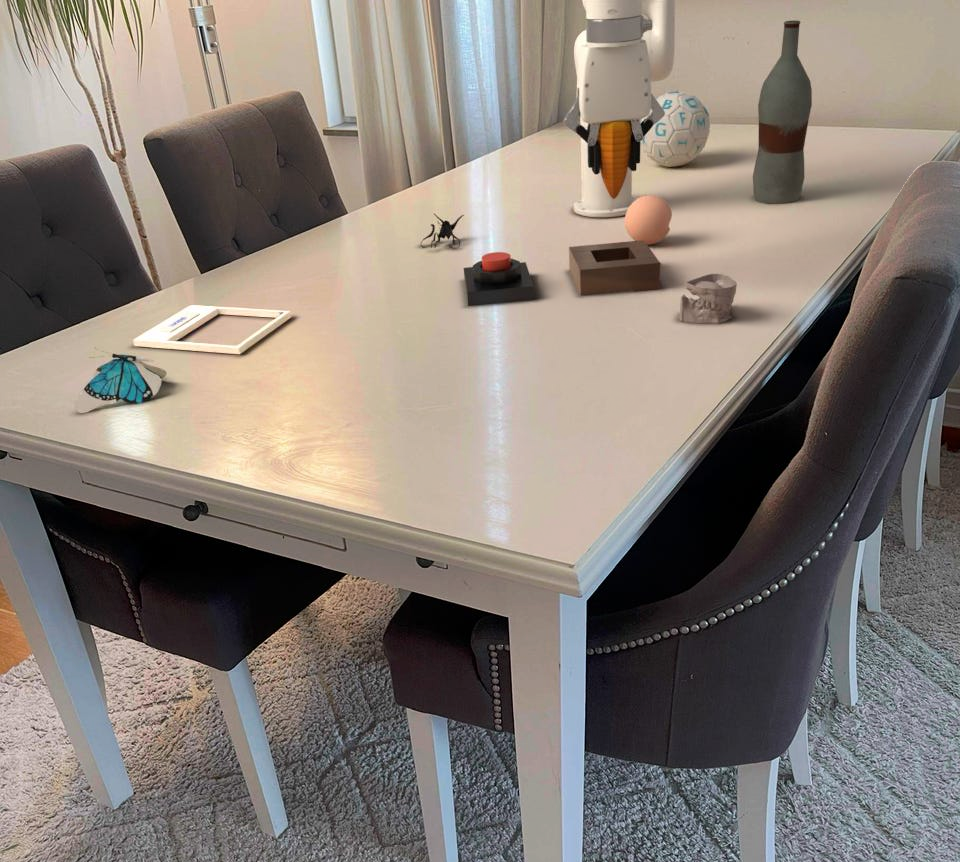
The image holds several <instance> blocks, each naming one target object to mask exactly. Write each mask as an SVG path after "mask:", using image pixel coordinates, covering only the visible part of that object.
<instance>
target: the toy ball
mask: <svg viewBox="0 0 960 862" xmlns="http://www.w3.org/2000/svg"><path fill="white" fill-rule="evenodd" d="M636 199H637V200H635V201H634V202H633V203H632V204H631V205H630V207H629V208H628V210H627V212H626V215H624V216H625V217H624V226H625V230H626V232H627V234H628V236H629V237H630V238H631V239H632V240H633V241H640V240H644V241H645V242H646V244H647V245H655V244H656V243H659V242H661V241H662V240H664V238H665V237H667V235H668V234H669V232H670V230H671V228H670V223H671V221H672V216H673V213H672V209H671V207H670V205H669V203H668V202H667V201H666V200H665V199H663V198H661V197H660V196H657V195H652V194H651V195H649V194H647V195H643V196H641V197H638V198H636Z"/></svg>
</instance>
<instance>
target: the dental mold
mask: <svg viewBox="0 0 960 862" xmlns="http://www.w3.org/2000/svg"><path fill="white" fill-rule="evenodd" d="M737 284H738V283H737V282H736V281H735V280H734V279H732V278H731V277H730V276H729V275H725V274H724V273H708V274H705V275H701V276H698V277H696V278H693V279H690V280H688V281H685V289H686V290H687V291H688V292H690V294H691V295H693V296H697V297H698V298H697V299H694V298H692V297H687V296H686V294H682V295H681V296H680V305H679V321H680V322H685V323H691V324H703V325H704V324H716V325H717V324H718V325H719V324H722V323H726V322H727V321H728V320H729V319H732V315H731V314H730V312H731V308H732V304H733V303H734V300H735V295H736V294H737Z"/></svg>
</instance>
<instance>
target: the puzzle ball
mask: <svg viewBox="0 0 960 862" xmlns="http://www.w3.org/2000/svg"><path fill="white" fill-rule="evenodd" d="M655 99H656V100H657V102H658V103H659V104H660V106H661V107H662V109H663V110H664V111H665V115H664V117H663V118H661V119H660V120H659V121H658V122H657V123H656V124H654V125H653V127H652V128H651V129H650V130H649V131H648V132H647V134H646V135H645V136H644V137H643V140H642V141H640V147H641V148H642V151H643V152H644V154H645V155H646V156H647V157H648V158H649V159H650V160H651V161H653V162H655V163H656V164H658V165H659V166H663V167H667V168H677V167H682V166H684V165H687V164H688V163H690V162H691V161H693V160H694V159H695V158H696V157H698V155H700V154H701V153H702V152H703V150H704V148H705V147H706V144H707V142H708V138H709V136H710V133H711V132H710V131H711V130H710V127H711V122H710V114H709V112H708V110H707V108H706V107H705V105H704V104H703V103H702V102H701V101H700V99H698V98H697V97H696V96H695V95H692V94H691V93H688V92H684V91H679V90H673V91H670V92H666V93H663V94H661V95H660V96H657V97H655ZM651 112H652V110H650V113H649V115H650V114H651ZM649 115H648V116H649ZM648 116H646V117H645V118H642V119H640V124H641V122H642V121H643V120H644V119H646V118H647V117H648Z"/></svg>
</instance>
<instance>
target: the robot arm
mask: <svg viewBox="0 0 960 862" xmlns="http://www.w3.org/2000/svg"><path fill="white" fill-rule="evenodd" d="M581 1H582V6H583V8H584V11H585V29H584V30H582V32H580V33H579V34H578V36H577V37H576V39H575V42H574V47H573V58H574V60H573V61H574V67H575V73H576V99H575V100H574V102H573V104H572V105H571V107H570V108H569V109H568V111H567V113H566V114H565V116H564V118H563V119H562V122H563V125H565V127H567V128H568V129H570V130H571V131H573V132H574V133H576V134H577V135H578V136H579V137H580V179H581V180H580V185H581V192H580V193H581V195H580V196H581V198H580V199H579V200H576V201H575V202H574V204H573V212H574V213H575V214H577V215H579V216H583V217H588V218H616V217H622V216H626V212H627V210H628V208H629V207H630V205H631V204H632V203H633V202H634V201H635V200H637V199H638V198H636V197H633V196H632V193H633V187H632V186H633V172H636V171H637V164H640V163H641V144H640V141H642V140H643V137H644V136H645V135H646V134H647V132H648V131H649V130H650V129H651V128H652V127H653V125H654V124H656V123H657V122H658V121H659V120H660V119H661V118H663V117H664V115H665V111H664V110H663V109H662V107H661V106H660V104H659V103H658V102H657V100H656V97H655V96H654V95H653V93H652V82H653V83H654V82H660V81H663V80H665V79H667V78H668V77H669V76H670V75H671V74H672V70H673V67H674V63H675V62H674V59H675V32H676V31H675V29H676V27H675V26H676V25H675V24H676V23H675V22H676V20H675V19H676V0H581ZM644 16H646V17H647V18H645V17H644ZM650 110H652V112H651V114H650V115H649V113H650ZM648 115H649V116H648ZM646 116H648V117H647V118H646V119H644V120H643V121H642V122H641V119H642V118H645V117H646ZM577 117H579V122H578V121H577ZM611 121H630V123H631V148H630V158H629V164H628V169H627V174H626V178H625V181H624V183H623V186H622V188H621V190H620V192H619V194H618V196H617V197H616V198H615V199H613V198H612V197H611V196H610V195H609V193H608V191H607V189H606V187H605V184H604V182H603V179H602V176H601V171H600V146H599V145H598V141H597V136H598V131H599V127H600V123H607V122H611ZM640 122H641V124H640Z"/></svg>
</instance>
